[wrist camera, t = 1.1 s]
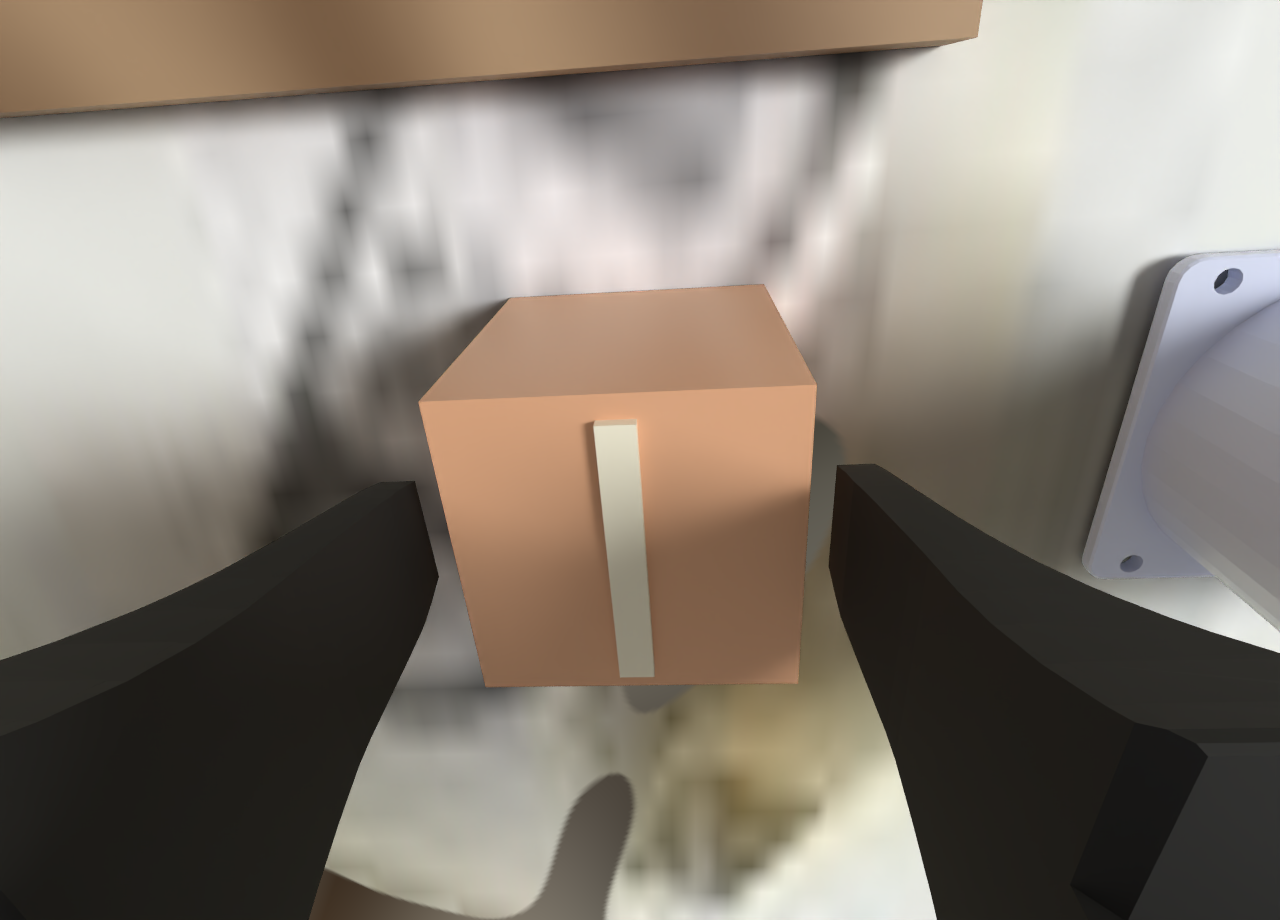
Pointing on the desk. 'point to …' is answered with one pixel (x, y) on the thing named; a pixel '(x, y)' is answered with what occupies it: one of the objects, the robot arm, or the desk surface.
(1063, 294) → the desk surface
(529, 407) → the orange cube
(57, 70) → the mount
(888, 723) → the robot arm
